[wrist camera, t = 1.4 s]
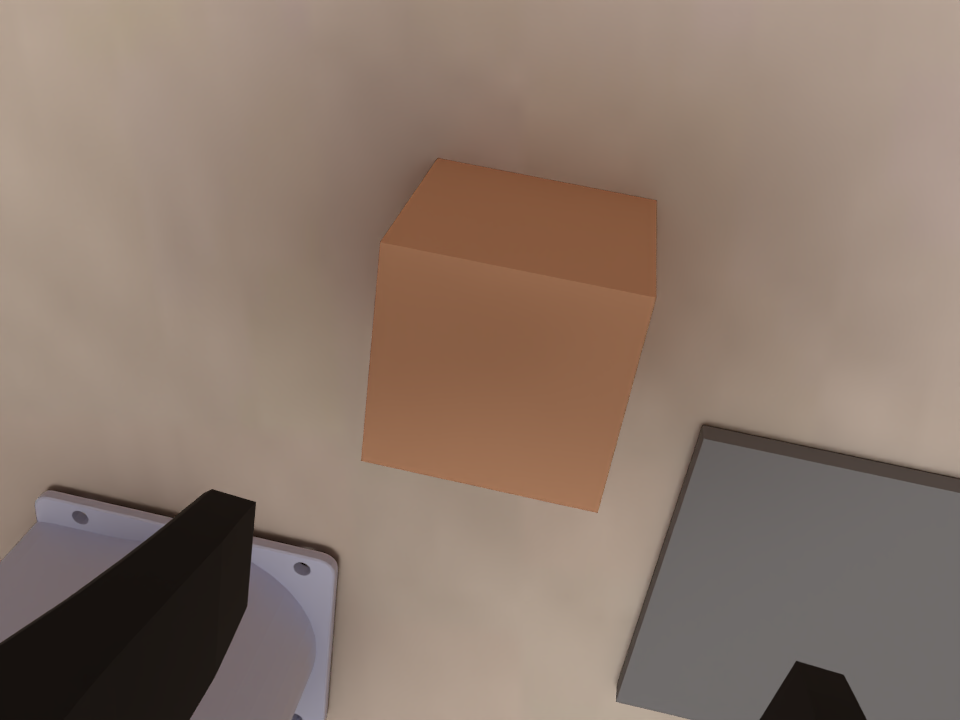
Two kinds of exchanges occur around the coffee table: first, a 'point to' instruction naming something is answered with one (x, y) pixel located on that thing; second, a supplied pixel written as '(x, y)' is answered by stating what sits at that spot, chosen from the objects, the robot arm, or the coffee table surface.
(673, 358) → the coffee table surface
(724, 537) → the mat
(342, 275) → the coffee table surface
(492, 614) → the coffee table surface
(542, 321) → the cube
